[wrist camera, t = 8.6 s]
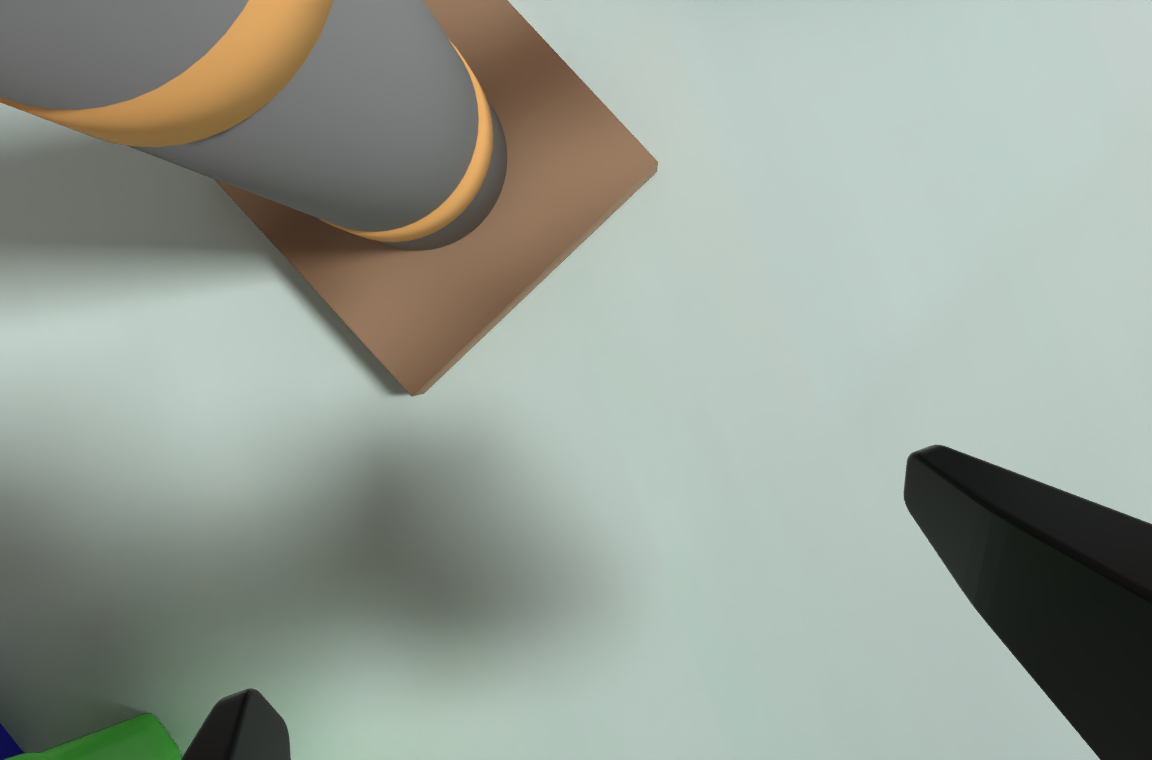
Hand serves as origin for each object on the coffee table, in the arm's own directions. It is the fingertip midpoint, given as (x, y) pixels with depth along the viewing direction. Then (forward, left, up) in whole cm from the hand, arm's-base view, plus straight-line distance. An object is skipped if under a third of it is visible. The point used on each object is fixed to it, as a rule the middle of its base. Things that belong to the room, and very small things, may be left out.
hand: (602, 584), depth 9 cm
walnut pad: (+10, -1, -10) cm, 14 cm away
